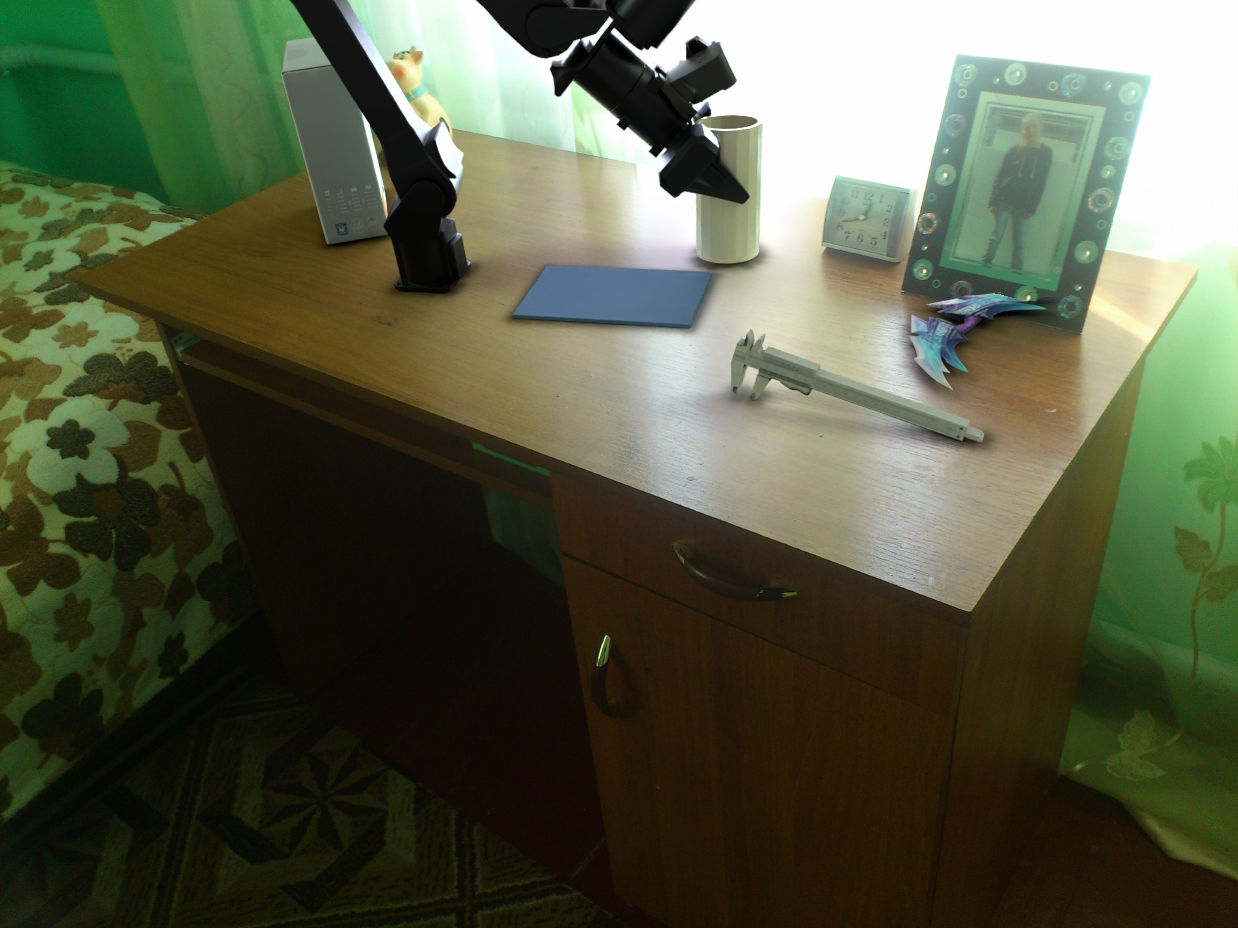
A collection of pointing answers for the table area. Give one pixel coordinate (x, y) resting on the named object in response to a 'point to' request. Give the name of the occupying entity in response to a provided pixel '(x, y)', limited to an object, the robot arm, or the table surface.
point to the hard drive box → (334, 145)
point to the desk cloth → (615, 296)
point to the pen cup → (723, 223)
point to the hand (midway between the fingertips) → (742, 187)
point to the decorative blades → (955, 329)
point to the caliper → (837, 388)
